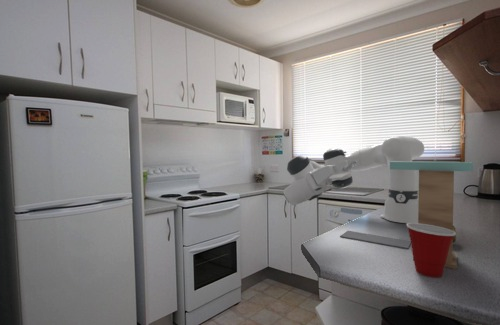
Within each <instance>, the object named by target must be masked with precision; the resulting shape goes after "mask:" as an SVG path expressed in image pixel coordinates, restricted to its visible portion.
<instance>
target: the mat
mask: <svg viewBox="0 0 500 325" xmlns="http://www.w3.org/2000/svg"><path fill="white" fill-rule="evenodd" d="M339 237H340V238H345V239H347V240H348V239H349V240H354V241H355V240H356V241H361V242H366V243H372V244H377V245H382V246H387V245H388V247H393V248H398V249H399V248H400V249H404V250H409V248H410V246H411V240H408V239H401V238H396V237H389V236H383V235H378V234H370V233H365V232H359V231H352V230H346V231H345V232H344V233H342V234H341V235H340V236H339Z"/></svg>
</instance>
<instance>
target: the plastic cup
mask: <svg viewBox="0 0 500 325" xmlns="http://www.w3.org/2000/svg"><path fill="white" fill-rule="evenodd" d="M405 224H406V228H407V229H408V234H409V239H410V240H409V241H411V244H410V246H411V251H412V258H414V261H413V262H414V268H415V271H416V272H417V273H418V274H419V275H423V276H426V277H430V278H440V277H442V276H443V274H444V270H445V267H444V266H445V263H446V260H447V256H448V251H449V247H450V244H451V241H452V239H453V237H454V235H456V236H457V232H455V231H456V230H455V231H452V230H450V229H446V228H443V227H439V226H434V225H428V224H420V223H405Z"/></svg>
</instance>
